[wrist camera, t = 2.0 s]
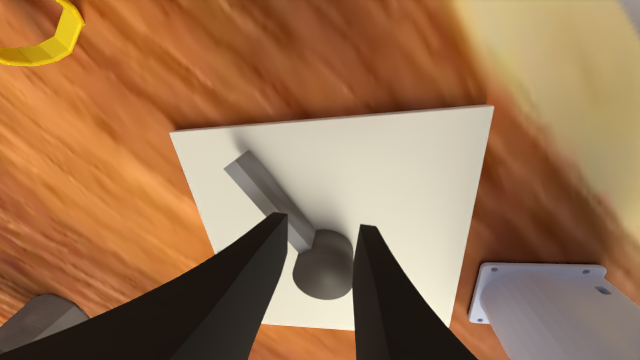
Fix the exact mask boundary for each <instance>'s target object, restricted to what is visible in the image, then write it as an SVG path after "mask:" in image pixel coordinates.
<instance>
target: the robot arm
mask: <svg viewBox="0 0 640 360" xmlns="http://www.w3.org/2000/svg"><path fill="white" fill-rule="evenodd" d="M287 253H288V214H286V213H278V212H273V213H271V214H270V215H269V216H267V217H266V218H265V219H263V220H262V221H261V222H260V223H258V224H257V225H256V226H254V227H253V228H252V229H251V230H249V231H248V232H247V233H245V234H244V235H243V236H241V237H240V238H238V239H237V240H236V241H234V242H233V243H232V244H230V245H229V246H227V247H226V248H224V249H223V250H221V251H220V252H218V253H217V254H215V255H214V256H213V257H211V258H209V259H208V260H206V261H205V262H203V263H201V264H200V265H198V266H196V267H195V268H193V269H191V270H189V271H188V272H186V273H184V274H182V275H181V276H179V277H177V278H175V279H173V280H171V281H169V282H167V283H165V284H163V285H161V286H159V287H157V288H155V289H153V290H151V291H149V292H147V293H145V294H143V295H141V296H139V297H137V298H135V299H133V300H131V301H129V302H127V303H125V304H123V305H120V306H118V307H116V308H114V309H111V310H109V311H107V312H105V313H102V314H100V315H98V316H95V317H93V318H91V319H88V320H86V321H84V322H81V323H79V324H77V325H74V326H72V327H69V328H67V329H64V330H62V331H59V332H57V333H54V334H51V335H49V336H46V337H44V338H41V339H38V340H36V341H33V342H31V343H28V344H25V345H23V346H20V347H17V348H15V349H12V350H10V351H7V352H4V353H2V354H0V360H248V357H249V354H250V351H251V348H252V345H253V342H254V340H255V337H256V334H257V332H258V329H259V327H260V325H261V322H262V320H263V318H264V315H265V313H266V310H267V308H268V306H269V303H270V301H271V299H272V296H273V294H274V291H275V289H276V287H277V284H278V282H279V279H280V277H281V274H282V271H283V267H284V264H285V260H286V257H287ZM606 272H607V270H606V268H604V267H603V266H601V265H583V264H535V263H488V262H487V263H483V264H482V265H481V266H480V270H479V274H478V278H477V282H476V286H475V290H474V294H473V298H472V302H471V306H470V310H469V314H468V319H469V321H470V322H472V323H486V324H490V325H491V326H492V328H493V330H494V332H495V334H496V336H497V337H498V339H499V341H500V343H501V345H502V347H503V348H504V350H505V352H506V354H507V356H508V358H509V359H510V360H640V307H639V306H638V305H637V304H635V303H634V302H633V301H632V300H630V299H629V298H628V297H627V296H626V295H624V294H623V293H622V292H621V291H619V290H618V289H617V288H616V287H615V286H613V285H612V284H611V283H610V282H608V281H607V280H606V279H605V278H604V276H605V274H606ZM352 294H353V310H354V326H355V341H356V360H478V359H477V358H476V357H475V356H474V355H473V354H472V353H471V352H470V351H469V350H468V349H467V348H466V347H465V346H464V345H463V344H462V343H461V341H460V340H459V339H458V338H457V337H456V336H455V335H454V334H453V333H452V332H451V330H450V329H449V328H448V327H447V326H446V325H445V324H444V322H443V321H442V320H441V319H440V318H439V317H438V315H437V314H436V313H435V312H434V311H433V309H432V308H431V307H430V306H429V304H428V303H427V302H426V301H425V299H424V298H423V297H422V295H421V294H420V293H419V291H418V290H417V289H416V287H415V286H414V285H413V283H412V282H411V281H410V279H409V278H408V276H407V275H406V274H405V272H404V271H403V269H402V268H401V266H400V265H399V263H398V261H397V260H396V258H395V257H394V255H393V254H392V252H391V250H390V249H389V247H388V245H387V244H386V242H385V240H384V239H383V237H382V235H381V233H380V231H379V229H378V228H377V227H376V226H372V225H365V224H360V228H359V233H358V239H357V244H356V250H355V255H354V261H353V277H352Z"/></svg>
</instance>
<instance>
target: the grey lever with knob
mask: <svg viewBox="0 0 640 360" xmlns="http://www.w3.org/2000/svg"><path fill="white" fill-rule="evenodd" d="M224 170H225V171H226V172H227V174H228V175H229V176H230V177H231V178H232V179H233V180H234V181H235V183H236V184H237V185H238V186H239V187H240V188H241V189H242V190H243V191H244V193H245V194H246V195H247V196H248V197H249V198H250V199H251V200H252V202H253V203H254V204H255V205H256V206H257V207H258V208H259V209H260V210H261V212H262V213H263V214H264V215H265V216H266V217H267V216H269V215H270V214H271V213H273V212H278V213H286V214H288V242H289V243H290V244H291V245H292V246H293V247H294V248H295V250H296V251H297V252H298V255H297V259H296V262H295V265H294V268H293V272H292V276H293V280H294V283H295V284H296V286H297V287H298V288H299V289H300V290H301V291H302V292H303V293H305V294H306V295H308V296H310V297H313V298H316V299H321V300H334V299H338V298H341V297H343V296H345V295H346V294H347V293H348V292H349V291H350V290H351V289H352V277H353V261H354V251H353V247H352V244H351V243H350V241H349V240H348V239H347V238H346V237H345V236H344V235H342V234H340V233H339V232H336V231H333V230H327V229H322V230H315V229H314V227H313V226H312V225H311V224H310V223H309V221H308V220H307V219H306V218H305V217H304V215H303V214H302V213H301V212H300V211H299V209H298V208H297V207H296V206H295V204H294V203H293V202H292V201H291V200H290V198H289V197H288V196H287V195H286V194H285V192H284V191H283V190H282V189H281V188H280V186H279V185H278V184H277V183H276V182H275V180H274V179H273V178H272V177H271V176H270V174H269V173H268V172H267V171H266V170H265V168H264V167H263V166H262V165H261V164H260V162H259V161H258V160H257V159H256V158H255V156H254V155H253V154H252V153H251V152H250V150H248V151H246V152H245V153H244V154H242V155H241V156H240V157H238V158H237V159H235V160H234V161H233V162H231V163H230V164H229V165H228V166H226V167H225V168H224Z"/></svg>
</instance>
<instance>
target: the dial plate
mask: <svg viewBox="0 0 640 360" xmlns="http://www.w3.org/2000/svg"><path fill="white" fill-rule="evenodd" d="M493 111H494V106H491V105H487V104H485V105H473V106H461V107H449V108H437V109H424V110H412V111H400V112H388V113H376V114H364V115H352V116H340V117H328V118H316V119H304V120H292V121H280V122H268V123H256V124H244V125H232V126H220V127H208V128H195V129H183V130H176V131H173V132H170V133H169V134H170V136H171V139H172V142H173V144H174V147H175V150H176V152H177V155H178V157H179V160H180V163H181V165H182V168H183V171H184V173H185V176H186V179H187V181H188V184H189V187H190V189H191V192H192V194H193V197H194V200H195V202H196V205H197V208H198V210H199V213H200V216H201V218H202V221H203V223H204V226H205V229H206V231H207V234H208V237H209V239H210V242H211V245H212V247H213V250H214V253H215V254H217V253H218V252H220V251H221V250H223V249H224V248H226V247H227V246H229V245H230V244H232V243H233V242H234V241H236V240H237V239H238V238H240V237H241V236H243V235H244V234H245V233H247V232H248V231H249V230H251V229H252V228H253V227H254V226H256V225H257V224H258V223H260V222H261V221H262V220H263V219H265V218H266V216H265V215H264V214H263V213H262V212H261V210H260V209H259V208H258V207H257V206H256V205H255V204H254V203H253V202H252V200H251V199H250V198H249V197H248V196H247V195H246V194H245V193H244V191H243V190H242V189H241V188H240V187H239V186H238V185H237V184H236V183H235V181H234V180H233V179H232V178H231V177H230V176H229V175H228V174H227V172H226V171H225V170H224V168H225V167H226V166H228V165H229V164H230V163H231V162H233V161H234V160H235V159H237V158H238V157H240V156H241V155H242V154H244V153H245V152H246V151H248V150H250V152H251V153H252V154H253V155H254V156H255V158H256V159H257V160H258V161H259V162H260V164H261V165H262V166H263V167H264V168H265V170H266V171H267V172H268V173H269V174H270V176H271V177H272V178H273V179H274V180H275V182H276V183H277V184H278V185H279V186H280V188H281V189H282V190H283V191H284V192H285V194H286V195H287V196H288V197H289V198H290V200H291V201H292V202H293V203H294V204H295V206H296V207H297V208H298V209H299V211H300V212H301V213H302V214H303V215H304V217H305V218H306V219H307V220H308V221H309V223H310V224H311V225H312V226H313V227H314V229H315V230H322V229H327V230H333V231H336V232H339V233H340V234H342V235H344V236H345V237H346V238H347V239H348V240H349V241H350V243H351V244H352V247H353V251H354V255H355V250H356V244H357V239H358V233H359V228H360V224H365V225H372V226H376V227H377V228H378V229H379V231H380V233H381V235H382V237H383V239H384V240H385V242H386V244H387V245H388V247H389V249H390V250H391V252H392V254H393V255H394V257H395V258H396V260H397V261H398V263H399V265H400V266H401V268H402V269H403V271H404V272H405V274H406V275H407V276H408V278H409V279H410V281H411V282H412V283H413V285H414V286H415V287H416V289H417V290H418V291H419V293H420V294H421V295H422V297H423V298H424V299H425V301H426V302H427V303H428V304H429V306H430V307H431V308H432V309H433V311H434V312H435V313H436V314H437V315H438V317H439V318H440V319H441V320H442V321H443V322H444V324H445V325H446V326H447V327H448V328H449V325H450V320H451V315H452V310H453V305H454V301H455V296H456V291H457V286H458V281H459V276H460V271H461V266H462V262H463V257H464V252H465V247H466V242H467V237H468V232H469V227H470V223H471V218H472V213H473V208H474V203H475V198H476V193H477V189H478V184H479V179H480V174H481V169H482V164H483V159H484V154H485V150H486V145H487V140H488V135H489V130H490V125H491V120H492V115H493ZM297 255H298V252H297V251H296V250H295V248H294V247H293V246H292V245H291V244H290V243H289V242H288V253H287V257H286V260H285V264H284V267H283V271H282V274H281V277H280V279H279V282H278V284H277V287H276V289H275V291H274V294H273V296H272V299H271V301H270V303H269V306H268V308H267V310H266V313H265V315H264V318H263V320H262V322H261V324H272V325H286V326H299V327H313V328H327V329H341V330H355V326H354V310H353V294H352V289H351V290H350V291H349V292H348V293H347V294H346V295H345V296H343V297H341V298H338V299H334V300H321V299H316V298H313V297H310V296H308V295H306V294H305V293H303V292H302V291H301V290H300V289H299V288H298V287H297V286H296V284H295V283H294V280H293V276H292V272H293V268H294V265H295V262H296V259H297Z"/></svg>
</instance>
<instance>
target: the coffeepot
mask: <svg viewBox="0 0 640 360" xmlns="http://www.w3.org/2000/svg"><path fill="white" fill-rule="evenodd" d="M88 319H90V318H89V317H88V315H87V314H86V313H85V312H84V311H83V310H82V309H81V308H80V307H78V306H77V305H76V304H74V303H72V302H71V301H69V300H67V299H65V298H62V297H60V296H56V295H52V294H44V295H41V296H37V297H34V298H33V299H31V300H30V301H29V302H28V303H27V304H26V305H25V306H24V307H22V308H21V309H20V310H19V311H18V312H17V313H16V314H15V315H13V316H12V317H11V318H10V319H9V320H8V321H7V322H6V323H4V324H3V325H2V326H1V327H0V354H2V353H4V352H7V351H10V350H12V349H15V348H17V347H20V346H23V345H25V344H28V343H31V342H33V341H36V340H38V339H41V338H44V337H46V336H49V335H51V334H54V333H57V332H59V331H62V330H64V329H67V328H69V327H72V326H74V325H77V324H79V323H81V322H84V321H86V320H88Z"/></svg>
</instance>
